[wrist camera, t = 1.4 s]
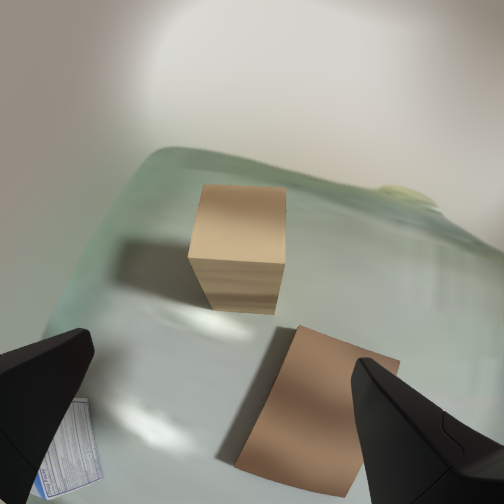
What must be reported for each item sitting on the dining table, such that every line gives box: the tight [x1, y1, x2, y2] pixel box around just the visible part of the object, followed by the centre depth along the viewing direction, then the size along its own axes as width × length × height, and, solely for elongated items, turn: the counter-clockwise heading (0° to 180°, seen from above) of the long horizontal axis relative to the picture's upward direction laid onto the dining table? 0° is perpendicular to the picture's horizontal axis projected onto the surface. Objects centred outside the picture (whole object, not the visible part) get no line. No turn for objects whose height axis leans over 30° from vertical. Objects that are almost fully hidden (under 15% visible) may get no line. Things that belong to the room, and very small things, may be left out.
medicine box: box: [30, 397, 103, 500], centre depth 13 cm, size 8×4×9 cm, turn 11°
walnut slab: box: [234, 325, 400, 498], centre depth 18 cm, size 12×9×2 cm
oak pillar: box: [188, 185, 286, 315], centre depth 20 cm, size 5×5×10 cm
